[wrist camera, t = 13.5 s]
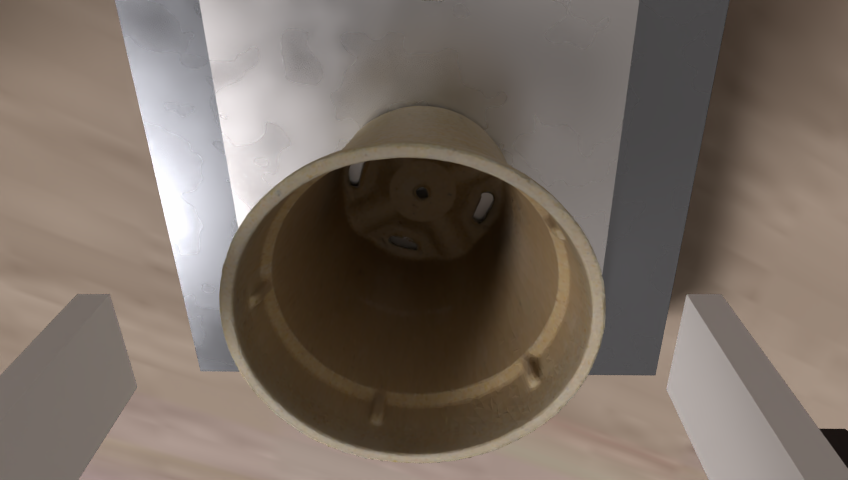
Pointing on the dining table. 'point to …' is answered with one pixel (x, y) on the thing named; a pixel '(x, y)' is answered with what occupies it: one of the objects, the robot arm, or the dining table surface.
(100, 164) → the dining table surface
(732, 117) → the dining table surface
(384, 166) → the flower pot
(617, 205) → the gray square platform
